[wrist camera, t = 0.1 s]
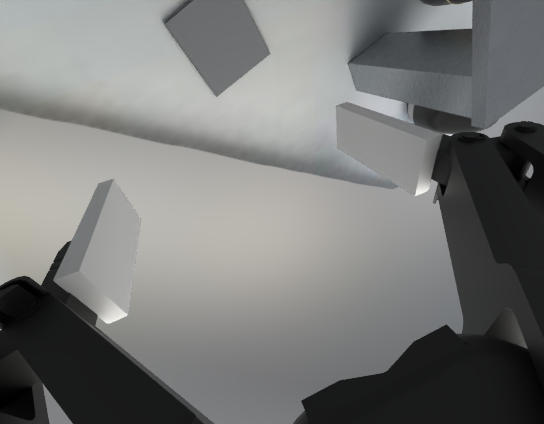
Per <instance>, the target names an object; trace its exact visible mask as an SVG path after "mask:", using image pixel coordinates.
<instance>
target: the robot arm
mask: <svg viewBox="0 0 544 424" xmlns="http://www.w3.org/2000/svg"><path fill="white" fill-rule="evenodd" d="M336 123H337V148H338V149H340V150H341V151H343V152H344V153H346V154H348V155H349V156H351V157H353V158H354V159H356V160H357V161H359V162H361V163H362V164H364V165H365V166H367V167H369V168H370V169H372V170H373V171H375V172H377V173H378V174H380V175H381V176H383V177H385V178H386V179H388V180H390V181H391V182H393V183H394V184H396V185H398V186H399V187H401V188H402V189H404V190H406V191H407V192H409V193H410V194H412V195H414V196H417V195H419V194H422V193H424V192H427V191H429V187H430V182H431V179H433V180H435V181H437V182H438V186H437V190H436V193H435V196H434V201H433V203H436V201H437V200H439V204H440V209H441V214H442V219H443V223H444V228H445V233H446V238H447V242H448V247H449V252H450V257H451V261H452V266H453V271H454V276H455V280H456V285H457V290H458V295H459V299H460V304H461V309H462V314H463V331H462V334H456V333H455V332H454V331H453V330H451V328H450V327H449V326H447V325H445V326H443V327H441V328H439V329H437V330H435V331H433V332H431V333H430V334H428V335H426V336H424V337H422V338H420V339H418V340H416V341H414V342H413V343H412V344H411V345H410V346H409V348H408V349H407V350H406V351H405V352H404V353H403V354H402V356H400V358H399V359H398V360H397V361H396V362H395V363H394V364H393V365H392V366H391V368H390V369H389V370H388V371H386V372H384V373H381V374H376V375H370V376H364V377H358V378H352V379H346V380H340V381H338V382H336V383H334V384H332V385H330V386H328V387H326V388H325V389H323V390H321V391H319V392H317V393H315V394H313V395H311V396H309V397H307V398H306V399H304V400H302V404H303V406H304V409H305V411H304V412H303V413H302V414H301V415H300V416H299V417H298V418H297V419H296V420H295V422H294V423H293V424H544V125H541V124H538V123H533V122H529V121H528V122H526V121H521V122H515V123H510V124H508V125H505V127H504V129H503V132H502V134H501V136H500V137H494V138H489V137H488V136H487V135H484V134H481V133H476V132H460V133H456V134H453V135H452V136H448V135H445V134H442V133H439V132H436V131H433V130H430V129H427V128H424V127H421V126H418V125H415V124H412V123H408V122H405V121H402V120H399V119H396V118H393V117H390V116H387V115H384V114H381V113H378V112H375V111H372V110H369V109H366V108H363V107H360V106H357V105H354V104H351V103H348V102H346V103H343V104H340V105H337V106H336ZM531 164H532V165H533V170H534V171H533V175H532V177H531V178H528V177H527V176H526V175H525V174H526V173H527V171H528V169H529V167H530V165H531ZM140 224H141V217H140V216H139V214H138V213H137V211H136V210H135V209H134V207H133V206H132V205H131V203H130V201H129V200H128V198H127V197H126V196H125V194H124V193H123V192H122V190H121V188H120V187H119V186H118V184H117V183H116V181H115V180H114V179H111V180H108V181H105V182H102V183H99V184H98V186H97V188H96V190H95V192H94V194H93V197H92V199H91V201H90V203H89V205H88V207H87V209H86V211H85V214H84V216H83V218H82V220H81V222H80V225H79V226H78V229H77V231H76V233H75V235H74V237H73V239H72V241H70V242H67V243H66V244H65V245H64V247H63V248H62V249H61V250H60V251H59V252H58V253H57V256H56V257H55V259H54V263H53V264H52V265H51V267H50V271H48V273H47V275H46V277H45V279H44V281H43V283H42V285H39V284H38V283H37V282H35V281H34V280H32V279H31V278H30V277H27V276H22V277H17V278H15V279H12V280H10V281H8V282H6V283H4V284H3V285H1V286H0V329H2V330H1V331H0V424H49V419H48V414H47V408H46V402H45V396H44V391H43V384H44V386H45V387H46V388H47V390H48V391H49V392H50V393H51V395H52V396H53V398H54V399H55V400H56V401H57V403H58V404H59V405H60V407H61V408H62V410H63V411H64V412H65V413H66V415H67V416H68V418H69V419H70V420H71V421H72V423H73V424H214V423H213V422H211V421H210V420H209V419H208V418H207V417H205V416H204V415H203V414H202V413H201V412H199V411H198V410H197V409H196V408H194V407H193V406H192V405H191V404H189V403H188V402H187V401H186V400H185V399H184V398H182V397H181V396H180V395H179V394H177V393H176V392H175V391H174V390H173V389H171V388H170V387H169V386H168V385H166V384H165V383H164V382H163V381H161V380H160V379H159V378H158V377H157V376H155V375H154V374H153V373H152V372H151V371H149V370H148V369H147V368H146V367H144V366H143V365H142V364H141V363H140V362H138V361H137V360H136V359H135V358H133V357H132V356H131V355H130V354H129V353H127V352H126V351H125V350H124V349H123V348H121V347H120V346H119V345H118V344H116V343H115V342H114V341H113V340H111V339H110V338H109V337H108V336H107V335H106V334H104V333H103V332H102V331H101V330H99V329H98V328H97V327H95V324H96V320H97V316H98V317H99V318H101V319H102V320H103V321H104V322H105V323H107V324H109V323H111V322H114V321H116V320H118V319H121V318H123V317H125V316H128V312H129V305H130V297H131V289H132V282H133V275H134V268H135V261H136V253H137V245H138V238H139V231H140ZM42 383H43V384H42Z"/></svg>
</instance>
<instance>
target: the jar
mask: <svg viewBox="0 0 544 424" xmlns="http://www.w3.org/2000/svg"><path fill="white" fill-rule="evenodd" d="M421 1H422V2H424V3H426V4H429V5H432V6H441V5H448V4H462V3H465V2H470V1H473V0H421Z"/></svg>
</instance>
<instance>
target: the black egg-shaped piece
mask: <svg viewBox="0 0 544 424" xmlns="http://www.w3.org/2000/svg"><path fill="white" fill-rule="evenodd" d="M408 115H409V117H410V119H411V121H412V122H413V123H414V124H415V125H418V126H421V127H424V128H427V129H430V130H433V131H436V132H439V133H442V134H456V133H460V132H477V131H481V130H484V129H482V128H478V127H475V126H471V118H468V117H464V116H460V115H456V114H451V113H447V112H443V111H439V110H435V109H431V108H427V107H423V106H418V105H414V104H410V103H408ZM498 120H499V119H498ZM498 120H497V121H498ZM497 121H495V122H494V123H493V124H491V125H490V126H488V127H487V128H489V127H491V126H492V125H494V124H495V123H496V122H497ZM487 128H486V129H487Z"/></svg>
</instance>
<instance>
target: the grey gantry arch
mask: <svg viewBox="0 0 544 424" xmlns="http://www.w3.org/2000/svg"><path fill="white" fill-rule="evenodd" d="M348 65H349V68H350V72H351V75H352V78H353V81H354V84H355V88H356V91H361V92H365V93H369V94H373V95H377V96H381V97H385V98H389V99H394V100H398V101H402V102H406V103H410V104H414V105H418V106H423V107H427V108H431V109H435V110H439V111H443V112H447V113H451V114H456V115H460V116H464V117H468V118H471V126H475V127H478V128H482V129H486V128H487V127H488V126H490V125H491V124H493V123H494V122H495V121H497V120H498V119H499V118H501V117H502V116H504V115H505V114H506V113H507V112H509V111H510V110H512V109H513V108H514V107H516V106H517V105H518V104H520V103H521V102H523V101H524V100H525V99H527V98H528V97H530V96H531V95H532V94H533V93H535V92H536V91H538V90H539V89H540V88H542V87H543V86H544V0H473V19H472V29H457V30H438V31H418V32H398V33H387V34H385V35H384V36H383V37H381V38H380V39H379V40H378V41H376V42H375V43H374V44H373V45H371V46H370V47H369V48H367V49H366V50H365V51H364V52H362V53H361V54H360V55H358V56H357V57H356V58H355V59H353V60H352V61H351V62H350V63H348Z"/></svg>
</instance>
